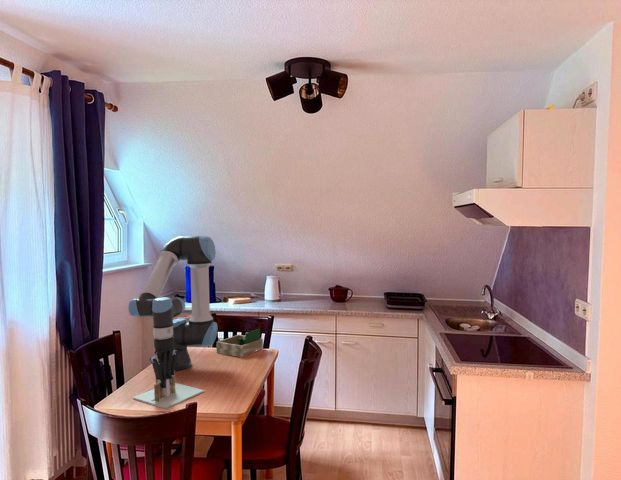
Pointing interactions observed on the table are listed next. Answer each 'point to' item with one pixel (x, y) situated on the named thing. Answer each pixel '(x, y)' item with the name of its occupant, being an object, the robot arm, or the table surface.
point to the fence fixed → (171, 383)
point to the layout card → (170, 396)
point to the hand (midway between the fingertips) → (166, 395)
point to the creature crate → (238, 346)
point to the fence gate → (159, 391)
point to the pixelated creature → (250, 337)
